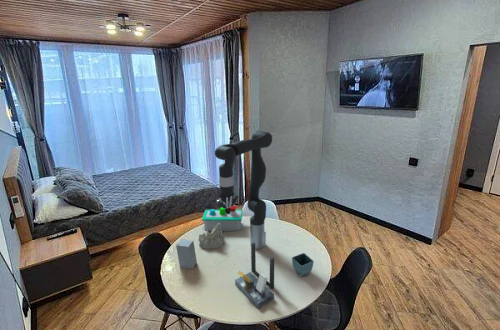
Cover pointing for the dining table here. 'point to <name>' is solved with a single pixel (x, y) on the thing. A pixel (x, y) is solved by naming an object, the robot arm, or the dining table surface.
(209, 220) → the control panel
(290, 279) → the dining table surface
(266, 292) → the strip
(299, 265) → the flower pot
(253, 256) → the cable posts
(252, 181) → the robot arm
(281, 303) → the dining table surface
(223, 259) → the dining table surface
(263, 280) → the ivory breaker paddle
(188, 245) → the skincare box
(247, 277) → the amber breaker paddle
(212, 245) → the jagged rock sculpture
